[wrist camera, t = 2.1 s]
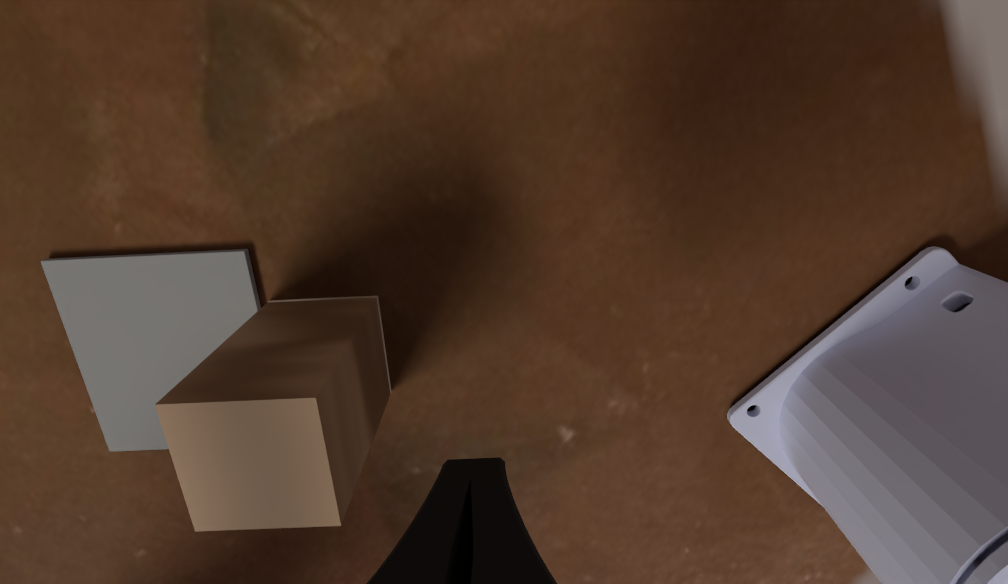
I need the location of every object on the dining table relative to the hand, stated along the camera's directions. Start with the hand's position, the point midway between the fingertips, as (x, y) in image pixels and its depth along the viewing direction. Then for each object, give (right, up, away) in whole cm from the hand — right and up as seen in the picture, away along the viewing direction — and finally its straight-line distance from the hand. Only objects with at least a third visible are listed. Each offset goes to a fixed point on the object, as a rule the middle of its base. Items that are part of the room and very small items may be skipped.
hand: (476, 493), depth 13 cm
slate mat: (-12, +2, +8) cm, 14 cm away
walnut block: (-6, +3, +8) cm, 10 cm away
